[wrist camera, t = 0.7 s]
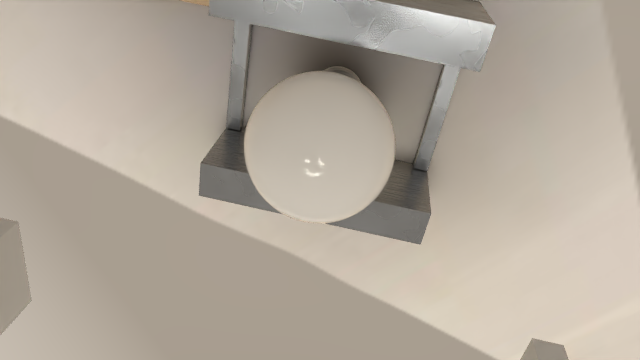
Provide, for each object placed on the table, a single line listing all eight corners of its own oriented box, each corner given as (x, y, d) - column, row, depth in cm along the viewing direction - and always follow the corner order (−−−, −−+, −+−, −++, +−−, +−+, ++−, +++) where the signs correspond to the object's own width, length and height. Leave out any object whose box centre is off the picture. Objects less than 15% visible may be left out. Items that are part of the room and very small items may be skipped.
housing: (243, -47, 25) (211, -34, 21) (479, 1, 25) (495, 25, 21) (226, 153, 31) (198, 195, 27) (417, 195, 31) (420, 244, 26)
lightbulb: (388, 17, 26) (380, 91, 16) (403, 130, 29) (405, 247, 19) (270, 39, 27) (201, 118, 18) (297, 144, 30) (249, 260, 21)
